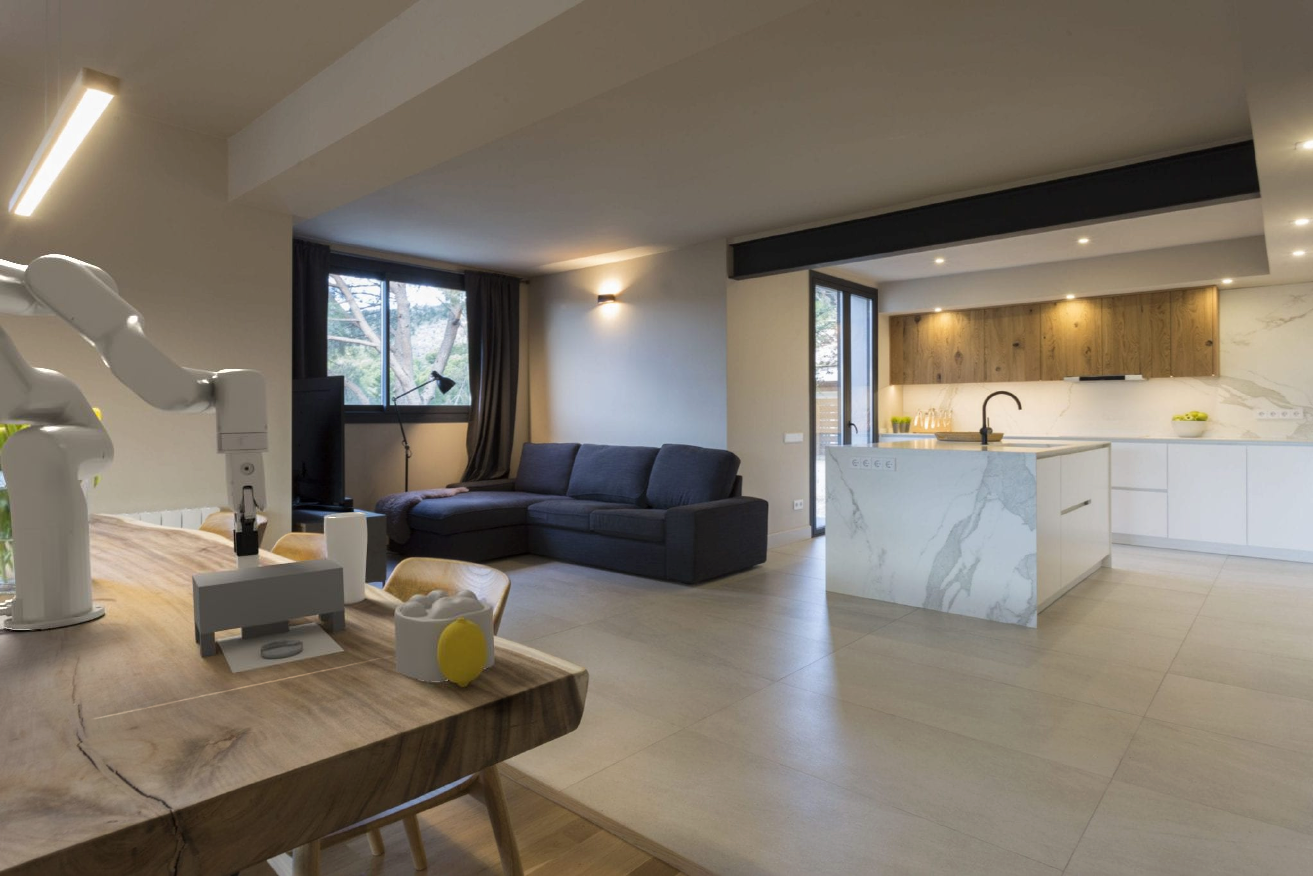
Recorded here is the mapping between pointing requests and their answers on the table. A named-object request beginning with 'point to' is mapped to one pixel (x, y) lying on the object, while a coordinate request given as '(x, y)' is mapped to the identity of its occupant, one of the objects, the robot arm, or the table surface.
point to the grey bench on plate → (266, 597)
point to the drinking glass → (348, 550)
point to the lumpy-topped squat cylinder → (436, 630)
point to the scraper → (262, 628)
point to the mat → (248, 650)
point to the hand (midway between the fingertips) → (246, 552)
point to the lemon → (462, 652)
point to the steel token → (281, 649)
